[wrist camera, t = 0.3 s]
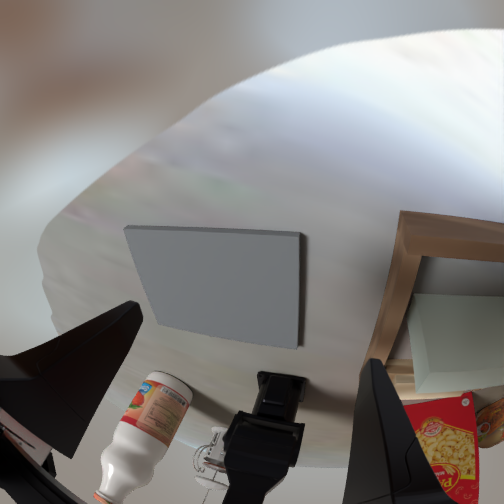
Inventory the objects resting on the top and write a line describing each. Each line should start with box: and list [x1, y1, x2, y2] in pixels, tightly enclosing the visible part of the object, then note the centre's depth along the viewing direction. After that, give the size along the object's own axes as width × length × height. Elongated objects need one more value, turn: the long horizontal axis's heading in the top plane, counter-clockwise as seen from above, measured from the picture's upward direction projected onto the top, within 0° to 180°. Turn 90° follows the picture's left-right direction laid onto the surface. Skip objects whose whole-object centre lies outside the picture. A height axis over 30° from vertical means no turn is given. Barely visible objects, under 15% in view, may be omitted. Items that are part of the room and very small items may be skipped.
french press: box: [193, 427, 229, 503], centre depth 44 cm, size 10×12×25 cm
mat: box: [123, 225, 300, 349], centre depth 28 cm, size 14×18×1 cm
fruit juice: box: [94, 371, 193, 504], centre depth 35 cm, size 9×9×28 cm
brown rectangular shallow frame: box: [359, 210, 504, 391], centre depth 20 cm, size 22×18×4 cm
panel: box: [406, 293, 504, 394], centre depth 18 cm, size 3×12×9 cm, turn 95°
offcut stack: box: [384, 359, 465, 400], centre depth 25 cm, size 4×13×4 cm, turn 96°
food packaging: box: [404, 391, 479, 504], centre depth 21 cm, size 15×5×25 cm, turn 111°
